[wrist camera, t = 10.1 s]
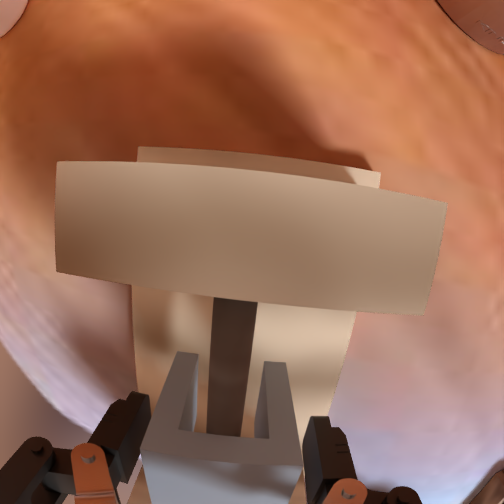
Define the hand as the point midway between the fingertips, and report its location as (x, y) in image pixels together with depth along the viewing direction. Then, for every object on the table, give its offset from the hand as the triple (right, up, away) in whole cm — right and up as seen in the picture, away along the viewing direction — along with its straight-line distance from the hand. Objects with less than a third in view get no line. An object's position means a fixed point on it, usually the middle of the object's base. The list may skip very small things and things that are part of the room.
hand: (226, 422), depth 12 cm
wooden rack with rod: (0, +1, +6) cm, 6 cm away
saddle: (0, +1, +2) cm, 2 cm away
